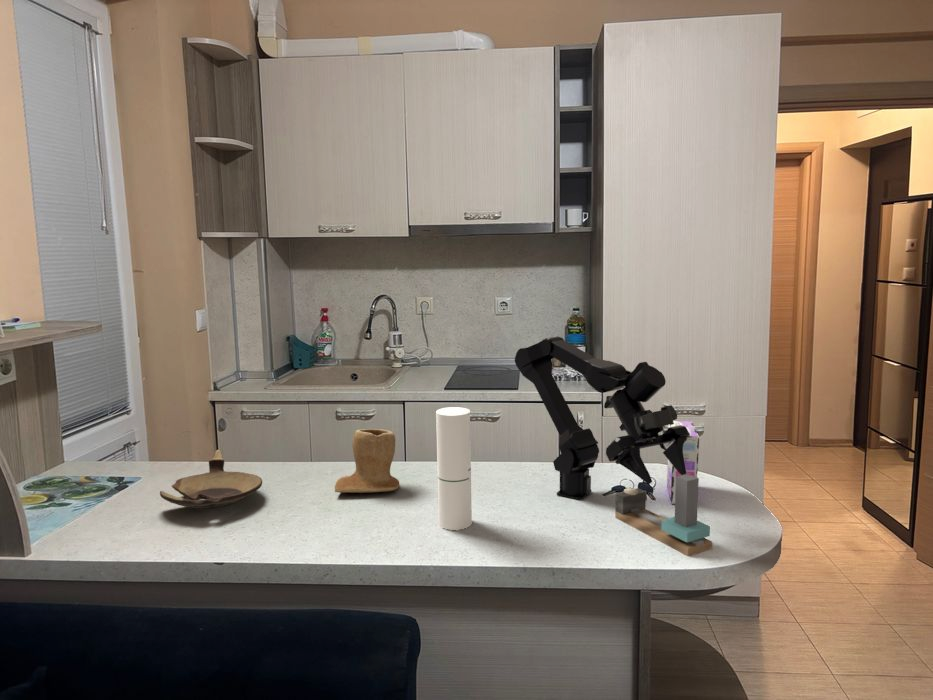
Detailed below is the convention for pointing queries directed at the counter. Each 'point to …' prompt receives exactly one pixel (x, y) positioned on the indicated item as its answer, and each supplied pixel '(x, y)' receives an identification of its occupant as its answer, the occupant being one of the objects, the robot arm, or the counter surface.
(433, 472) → the counter surface
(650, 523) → the rail
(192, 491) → the oil lamp
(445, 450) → the cylindrical container
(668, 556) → the counter surface
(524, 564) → the counter surface
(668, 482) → the candy box
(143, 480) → the counter surface
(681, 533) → the carriage
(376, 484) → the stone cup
